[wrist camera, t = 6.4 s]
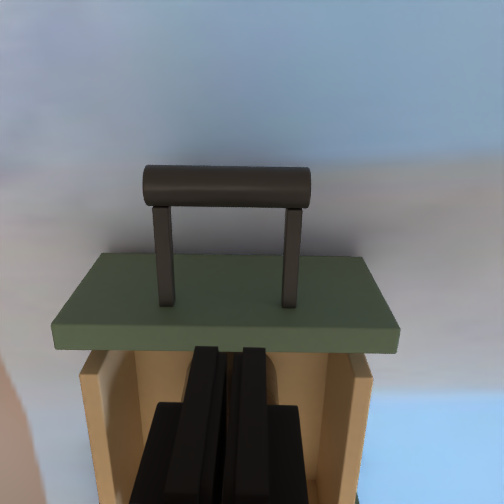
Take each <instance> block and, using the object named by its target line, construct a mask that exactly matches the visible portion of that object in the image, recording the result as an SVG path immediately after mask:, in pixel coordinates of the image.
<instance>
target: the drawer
mask: <svg viewBox="0 0 504 504" xmlns="http://www.w3.org/2000/svg"><path fill="white" fill-rule="evenodd" d="M143 196H144V201H145V203H146V205H148V206H153V208H152V212H153V226H154V240H155V254H138V253H102V254H101V255H100V256H99V258H98V259H97V261H96V262H95V263H94V265H93V266H92V268H91V269H90V270H89V272H88V273H87V275H86V276H85V277H84V279H83V280H82V281H81V283H80V284H79V286H78V287H77V288H76V290H75V291H74V293H73V294H72V295H71V297H70V298H69V300H68V301H67V302H66V304H65V305H64V307H63V308H62V309H61V311H60V312H59V314H58V315H57V316H56V318H55V319H54V320H53V322H52V323H51V330H52V335H53V341H54V346H55V349H57V350H92V351H91V353H90V355H89V357H88V359H87V360H86V362H85V364H84V366H83V368H82V370H81V372H80V374H79V377H80V383H81V390H82V396H83V402H84V408H85V415H86V421H87V427H88V433H89V439H90V446H91V452H92V458H93V464H94V471H95V477H96V483H97V489H98V495H99V502H100V504H129V500H130V497H131V493H132V490H133V486H134V483H135V479H136V476H137V472H138V469H139V465H140V462H141V458H142V455H143V451H144V448H145V444H146V441H147V437H148V434H149V430H150V427H151V423H152V420H153V416H154V413H155V409H156V406H157V404H158V403H159V402H181V398H182V392H183V387H184V382H185V377H186V372H187V368H188V365H189V363H190V361H191V360H192V358H193V353H194V349H195V346H218V348H219V352H243V347H261V348H266V355H267V356H268V357H269V358H270V359H271V361H272V362H273V364H274V366H275V369H276V374H277V384H278V396H279V405H297V406H298V410H299V418H300V427H301V436H302V445H303V455H304V464H305V473H306V482H307V491H308V501H309V504H355V498H356V491H357V485H358V478H359V471H360V465H361V458H362V451H363V445H364V438H365V431H366V425H367V418H368V412H369V405H370V398H371V392H372V385H373V376H372V373H371V370H370V368H369V365H368V362H367V360H366V357H365V354H364V353H379V354H395V353H397V348H398V342H399V336H400V330H401V329H400V327H399V325H398V323H397V321H396V319H395V317H394V316H393V314H392V312H391V310H390V308H389V306H388V304H387V302H386V301H385V299H384V297H383V295H382V293H381V291H380V289H379V287H378V286H377V284H376V282H375V280H374V278H373V276H372V274H371V273H370V271H369V269H368V267H367V265H366V263H365V261H364V259H363V258H362V257H346V256H300V243H301V227H302V212H303V211H302V208H308V206H309V204H310V197H311V172H310V169H309V168H308V167H248V166H187V165H146V166H145V169H144V172H143ZM171 206H193V207H258V208H286V210H285V231H284V252H283V256H276V255H207V254H173V241H172V223H171Z"/></svg>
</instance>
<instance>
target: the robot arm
mask: <svg viewBox="0 0 504 504" xmlns="http://www.w3.org/2000/svg"><path fill="white" fill-rule="evenodd" d="M222 503H223V504H309V501H308V491H307V482H306V473H305V464H304V455H303V445H302V436H301V427H300V418H299V410H298V406H297V405H267V387H266V348H261V347H243V353H234V358H233V370H232V382H231V395H230V407H229V419H228V431H227V353H219V348H218V346H195V349H194V353H193V358H192V363H191V367H190V372H189V377H188V381H187V386H186V391H185V396H184V400H183V402H159V403H158V404H157V406H156V409H155V413H154V416H153V420H152V423H151V427H150V430H149V434H148V437H147V441H146V444H145V448H144V451H143V455H142V458H141V462H140V465H139V469H138V472H137V476H136V479H135V483H134V486H133V490H132V493H131V497H130V500H129V504H222Z"/></svg>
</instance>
